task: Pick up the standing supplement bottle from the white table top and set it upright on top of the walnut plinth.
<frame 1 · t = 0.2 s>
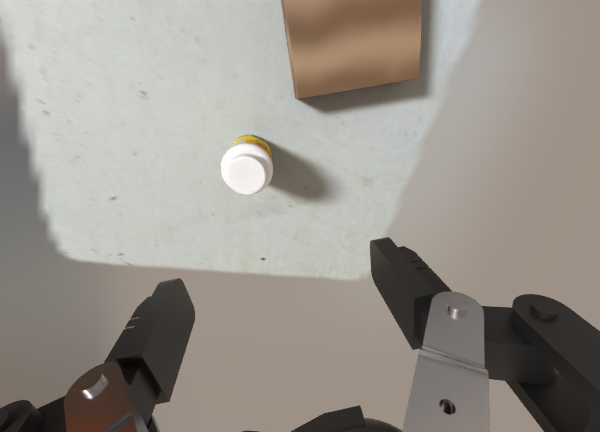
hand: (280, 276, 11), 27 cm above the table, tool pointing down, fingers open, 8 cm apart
supplement bottle: (251, 154, 36), on the table
walnut plinth: (345, 22, 31), on the table
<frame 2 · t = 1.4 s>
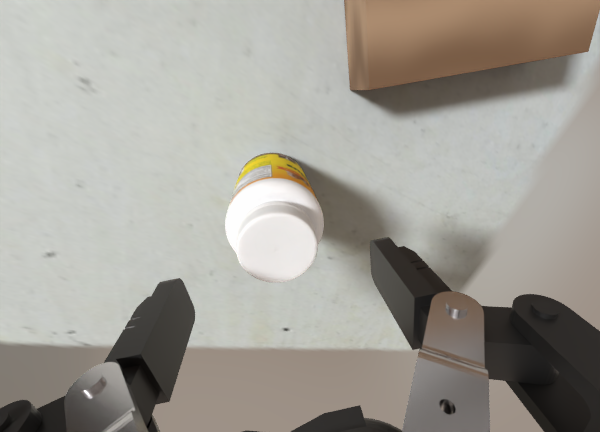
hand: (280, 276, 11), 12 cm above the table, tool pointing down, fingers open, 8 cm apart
supplement bottle: (272, 183, 22), on the table
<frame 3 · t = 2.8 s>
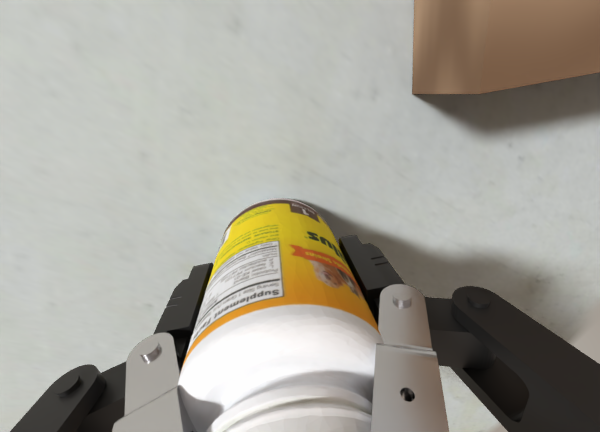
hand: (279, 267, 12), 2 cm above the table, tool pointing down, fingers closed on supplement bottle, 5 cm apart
supplement bottle: (277, 242, 14), on the table, touching gripper
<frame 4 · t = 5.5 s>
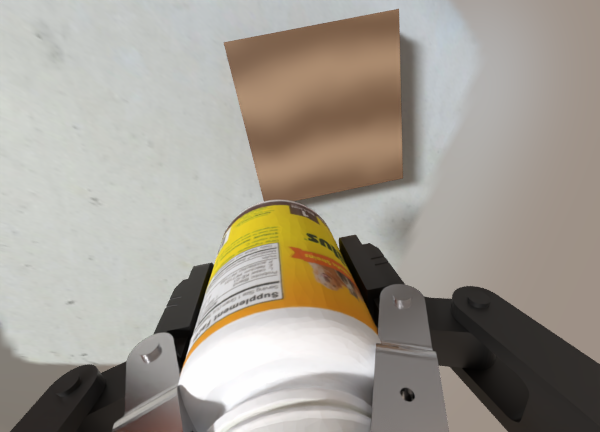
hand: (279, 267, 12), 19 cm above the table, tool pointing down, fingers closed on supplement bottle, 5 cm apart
supplement bottle: (277, 243, 14), point 17 cm above the table, touching gripper
walnut plinth: (317, 116, 27), on the table
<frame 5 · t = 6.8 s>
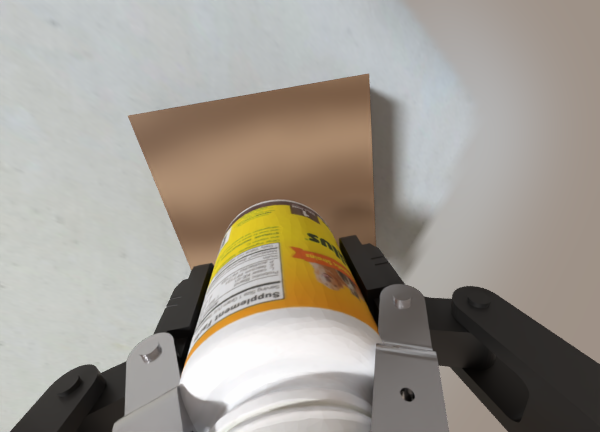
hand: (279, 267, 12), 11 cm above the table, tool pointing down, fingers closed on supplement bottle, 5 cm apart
supplement bottle: (278, 243, 14), point 9 cm above the table, touching gripper
walnut plinth: (272, 186, 22), on the table
when the fingers open (7 cm above the table, at t = 8.1 s): supplement bottle drops 1 cm, resting on walnut plinth.
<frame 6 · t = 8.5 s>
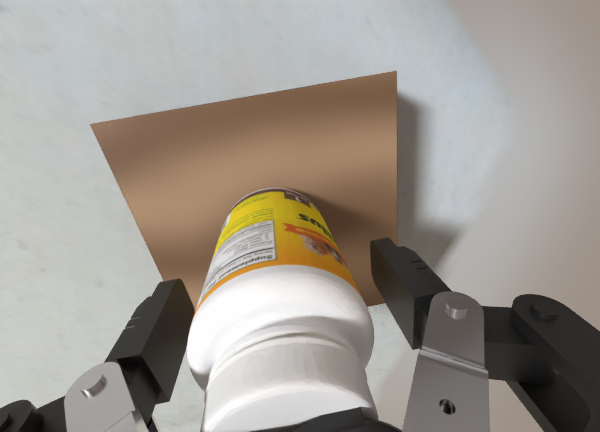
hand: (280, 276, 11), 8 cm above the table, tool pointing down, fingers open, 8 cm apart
supplement bottle: (274, 229, 15), point 4 cm above the table, touching walnut plinth
walnut plinth: (274, 204, 19), on the table
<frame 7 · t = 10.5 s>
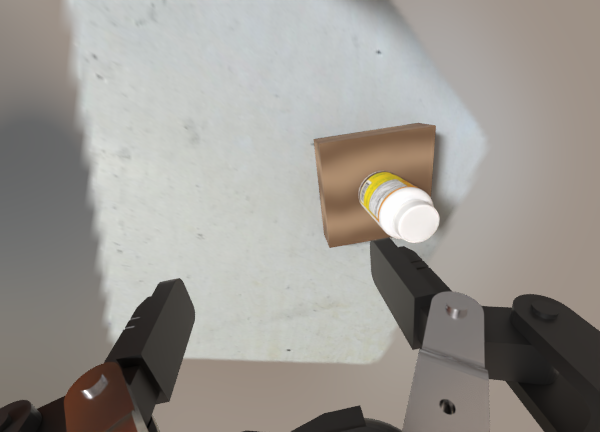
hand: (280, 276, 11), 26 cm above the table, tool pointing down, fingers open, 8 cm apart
supplement bottle: (377, 190, 34), point 4 cm above the table, touching walnut plinth
walnut plinth: (368, 182, 38), on the table
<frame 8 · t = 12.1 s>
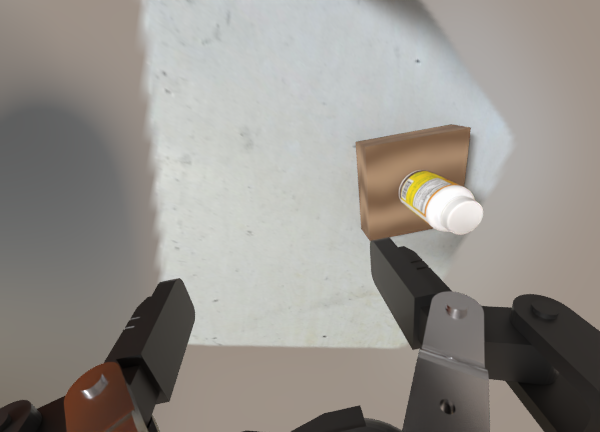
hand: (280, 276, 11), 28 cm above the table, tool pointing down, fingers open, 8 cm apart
supplement bottle: (415, 187, 37), point 4 cm above the table, touching walnut plinth
walnut plinth: (403, 180, 41), on the table
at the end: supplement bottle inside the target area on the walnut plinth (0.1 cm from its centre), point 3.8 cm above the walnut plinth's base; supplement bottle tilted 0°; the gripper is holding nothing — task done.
